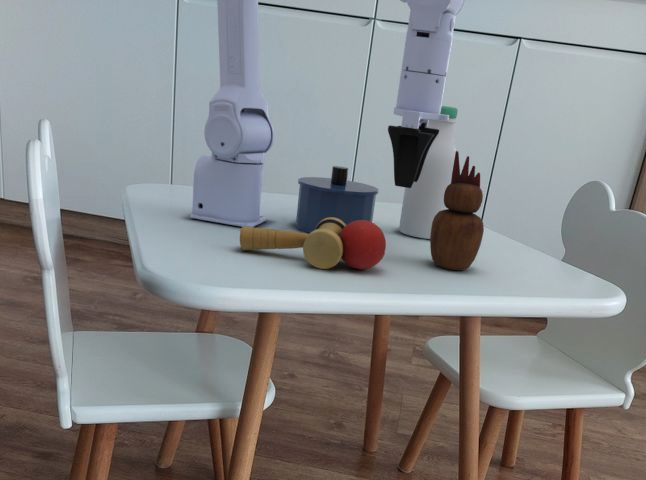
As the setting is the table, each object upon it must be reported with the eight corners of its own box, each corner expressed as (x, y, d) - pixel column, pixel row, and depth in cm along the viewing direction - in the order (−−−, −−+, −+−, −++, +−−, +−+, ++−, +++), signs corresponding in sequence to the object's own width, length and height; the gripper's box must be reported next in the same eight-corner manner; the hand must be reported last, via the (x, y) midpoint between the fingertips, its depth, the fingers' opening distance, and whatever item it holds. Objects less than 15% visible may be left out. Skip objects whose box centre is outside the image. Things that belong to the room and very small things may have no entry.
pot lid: (287, 189, 99) (290, 164, 97) (309, 181, 110) (311, 158, 109) (370, 203, 97) (373, 177, 96) (383, 193, 108) (386, 170, 107)
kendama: (233, 268, 82) (382, 271, 80) (232, 214, 81) (383, 216, 79) (251, 265, 90) (387, 268, 88) (250, 216, 89) (388, 218, 87)
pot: (287, 230, 101) (291, 185, 99) (307, 218, 111) (311, 178, 109) (362, 243, 99) (368, 198, 97) (375, 230, 110) (381, 189, 108)
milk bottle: (439, 242, 107) (463, 108, 100) (392, 233, 109) (412, 101, 102) (449, 235, 114) (472, 109, 107) (405, 227, 116) (424, 103, 109)
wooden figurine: (421, 266, 91) (440, 149, 85) (431, 258, 96) (450, 148, 90) (471, 276, 89) (494, 158, 83) (478, 268, 94) (501, 156, 89)
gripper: (452, 75, 78) (432, 194, 83) (457, 80, 92) (440, 182, 97) (392, 67, 79) (375, 185, 84) (406, 73, 93) (391, 175, 98)
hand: (406, 183), depth 90 cm, fingers open, 7 cm apart
